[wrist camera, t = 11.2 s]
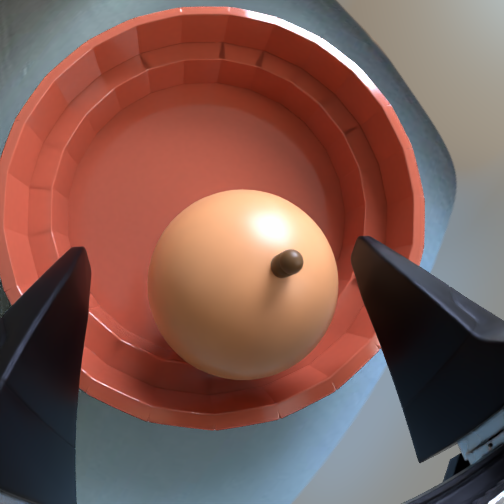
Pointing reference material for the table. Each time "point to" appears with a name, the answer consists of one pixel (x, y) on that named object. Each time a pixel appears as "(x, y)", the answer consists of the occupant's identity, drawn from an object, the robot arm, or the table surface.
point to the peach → (242, 284)
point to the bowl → (201, 191)
